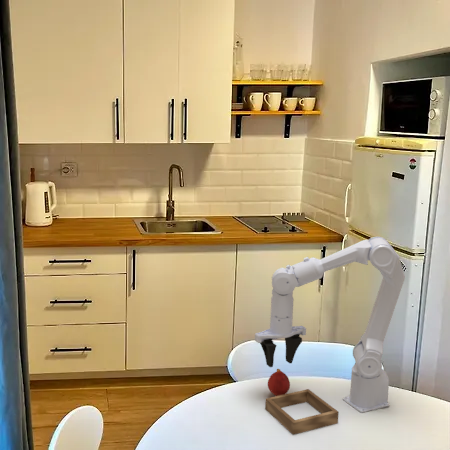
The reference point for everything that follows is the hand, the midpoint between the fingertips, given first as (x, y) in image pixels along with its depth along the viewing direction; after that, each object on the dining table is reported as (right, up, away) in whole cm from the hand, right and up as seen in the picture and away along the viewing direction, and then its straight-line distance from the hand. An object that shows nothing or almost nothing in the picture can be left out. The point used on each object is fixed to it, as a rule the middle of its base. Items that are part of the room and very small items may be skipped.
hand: (279, 363), depth 155 cm
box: (+5, -11, -8) cm, 14 cm away
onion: (0, -9, +2) cm, 10 cm away
